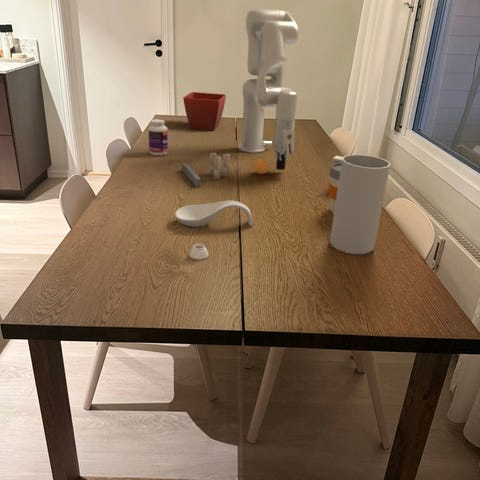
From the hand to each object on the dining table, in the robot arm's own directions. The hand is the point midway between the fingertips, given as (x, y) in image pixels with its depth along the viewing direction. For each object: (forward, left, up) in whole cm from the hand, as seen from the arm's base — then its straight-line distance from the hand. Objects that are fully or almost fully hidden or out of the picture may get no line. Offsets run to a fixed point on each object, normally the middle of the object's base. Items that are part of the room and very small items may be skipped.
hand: (280, 169), depth 199 cm
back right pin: (+28, -3, -2) cm, 28 cm away
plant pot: (+7, -81, -2) cm, 81 cm away
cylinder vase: (+8, +67, -2) cm, 68 cm away
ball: (+8, 0, +2) cm, 9 cm away
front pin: (+23, 0, -2) cm, 24 cm away
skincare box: (-14, +23, -2) cm, 27 cm away
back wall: (+37, 0, -2) cm, 38 cm away
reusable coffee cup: (-4, +43, -2) cm, 43 cm away
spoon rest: (+42, +42, -2) cm, 60 cm away
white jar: (+53, +62, -2) cm, 81 cm away
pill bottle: (+42, -35, -2) cm, 55 cm away
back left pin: (+28, +2, -2) cm, 28 cm away
